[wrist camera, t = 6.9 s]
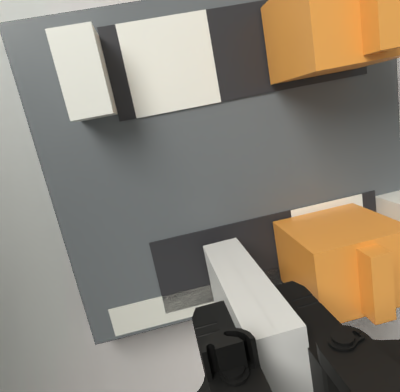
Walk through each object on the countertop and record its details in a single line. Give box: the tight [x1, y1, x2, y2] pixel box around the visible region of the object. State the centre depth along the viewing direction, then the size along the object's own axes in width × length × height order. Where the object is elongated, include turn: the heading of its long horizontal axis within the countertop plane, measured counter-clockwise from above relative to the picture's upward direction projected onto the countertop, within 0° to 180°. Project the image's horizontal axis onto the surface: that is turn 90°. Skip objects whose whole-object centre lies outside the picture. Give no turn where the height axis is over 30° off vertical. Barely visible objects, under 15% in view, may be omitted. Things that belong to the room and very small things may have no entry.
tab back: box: [273, 203, 400, 325], centre depth 14 cm, size 4×3×5 cm
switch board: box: [0, 0, 400, 345], centre depth 15 cm, size 16×14×4 cm
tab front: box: [261, 0, 400, 85], centre depth 12 cm, size 4×3×5 cm
